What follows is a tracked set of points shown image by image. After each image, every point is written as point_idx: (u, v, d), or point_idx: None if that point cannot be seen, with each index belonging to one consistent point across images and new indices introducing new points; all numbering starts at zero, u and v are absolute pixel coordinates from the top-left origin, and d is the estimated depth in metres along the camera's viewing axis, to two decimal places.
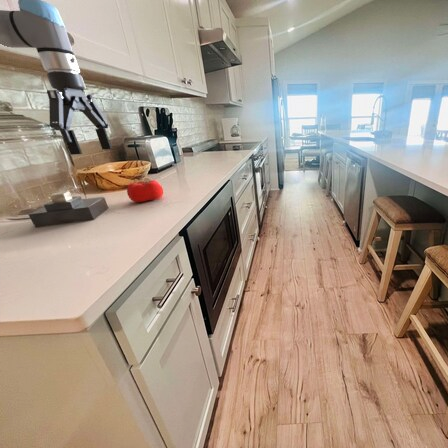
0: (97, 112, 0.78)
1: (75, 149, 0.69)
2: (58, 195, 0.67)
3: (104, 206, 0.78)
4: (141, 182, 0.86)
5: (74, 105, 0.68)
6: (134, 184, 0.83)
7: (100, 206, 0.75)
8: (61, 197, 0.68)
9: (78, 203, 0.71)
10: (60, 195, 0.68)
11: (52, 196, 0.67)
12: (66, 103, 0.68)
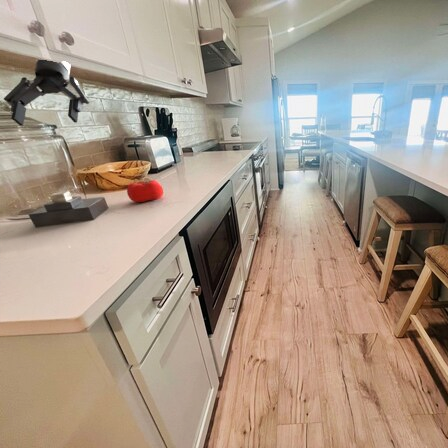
0: None
1: (75, 116, 0.73)
2: (58, 195, 0.67)
3: (104, 206, 0.78)
4: (141, 182, 0.86)
5: None
6: (134, 184, 0.83)
7: (100, 206, 0.75)
8: (61, 197, 0.68)
9: (78, 203, 0.71)
10: (60, 195, 0.68)
11: (52, 196, 0.67)
12: None
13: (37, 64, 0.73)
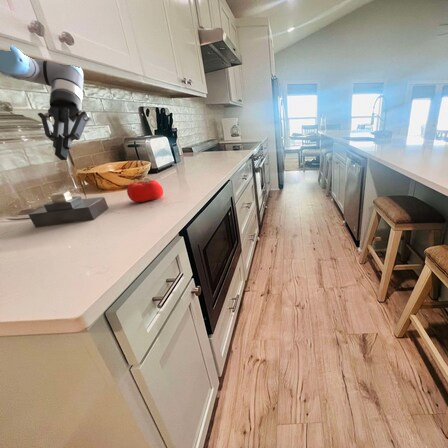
0: (52, 128, 0.75)
1: (65, 154, 0.73)
2: (58, 195, 0.67)
3: (104, 206, 0.78)
4: (141, 182, 0.86)
5: None
6: (134, 184, 0.83)
7: (100, 206, 0.75)
8: (61, 197, 0.68)
9: (78, 203, 0.71)
10: (60, 195, 0.68)
11: (52, 196, 0.67)
12: (75, 115, 0.77)
13: (52, 95, 0.75)
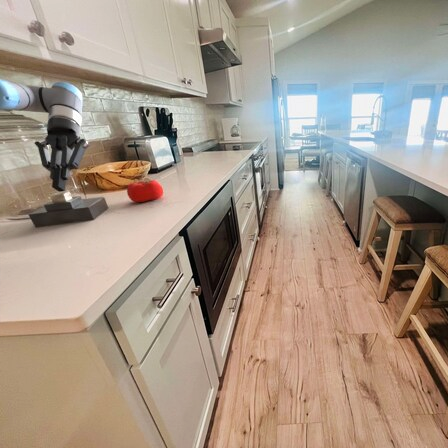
0: (49, 157, 0.72)
1: (63, 185, 0.70)
2: (58, 195, 0.67)
3: (104, 206, 0.78)
4: (141, 182, 0.86)
5: None
6: (134, 184, 0.83)
7: (100, 206, 0.75)
8: (61, 197, 0.68)
9: (78, 203, 0.71)
10: (60, 195, 0.68)
11: (52, 196, 0.67)
12: (73, 143, 0.74)
13: (49, 123, 0.72)
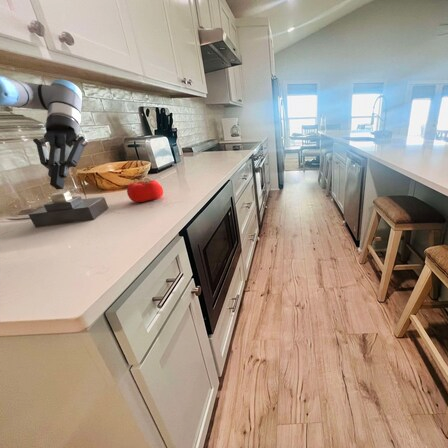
0: (48, 154, 0.72)
1: (61, 182, 0.69)
2: (58, 195, 0.67)
3: (104, 206, 0.78)
4: (141, 182, 0.86)
5: None
6: (134, 184, 0.83)
7: (100, 206, 0.75)
8: (61, 197, 0.68)
9: (78, 203, 0.71)
10: (60, 195, 0.68)
11: (52, 196, 0.67)
12: (72, 141, 0.74)
13: (48, 120, 0.72)
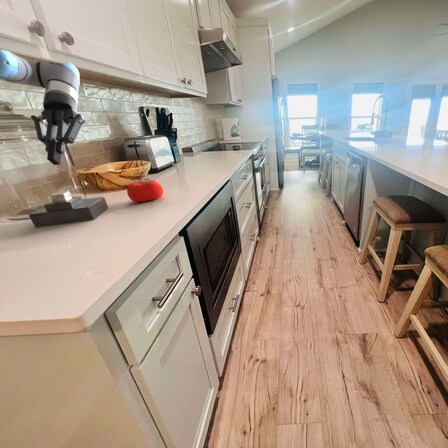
0: (45, 131, 0.72)
1: (58, 158, 0.70)
2: (58, 195, 0.67)
3: (104, 206, 0.78)
4: (141, 182, 0.86)
5: None
6: (134, 184, 0.83)
7: (100, 206, 0.75)
8: (61, 197, 0.68)
9: (78, 203, 0.71)
10: (60, 195, 0.68)
11: (52, 196, 0.67)
12: (69, 118, 0.74)
13: (46, 97, 0.72)
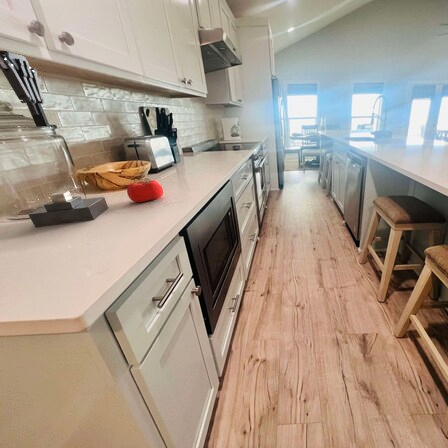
0: (35, 84, 0.74)
1: (41, 121, 0.75)
2: (58, 195, 0.67)
3: (104, 206, 0.78)
4: (141, 182, 0.86)
5: (24, 71, 0.69)
6: (134, 184, 0.83)
7: (100, 206, 0.75)
8: (61, 197, 0.68)
9: (78, 203, 0.71)
10: (60, 195, 0.68)
11: (52, 196, 0.67)
12: None
13: None
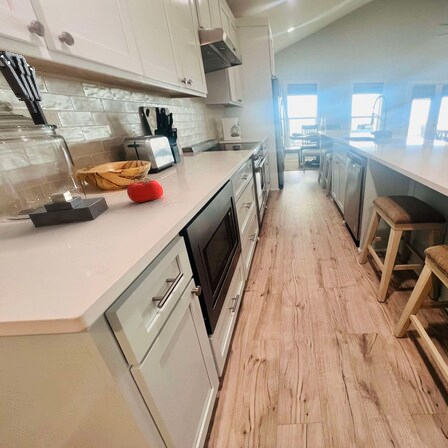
0: (33, 81, 0.74)
1: (40, 119, 0.74)
2: (58, 195, 0.67)
3: (104, 206, 0.78)
4: (141, 182, 0.86)
5: (21, 69, 0.69)
6: (134, 184, 0.83)
7: (100, 206, 0.75)
8: (61, 197, 0.68)
9: (78, 203, 0.71)
10: (60, 195, 0.68)
11: (52, 196, 0.67)
12: None
13: None
